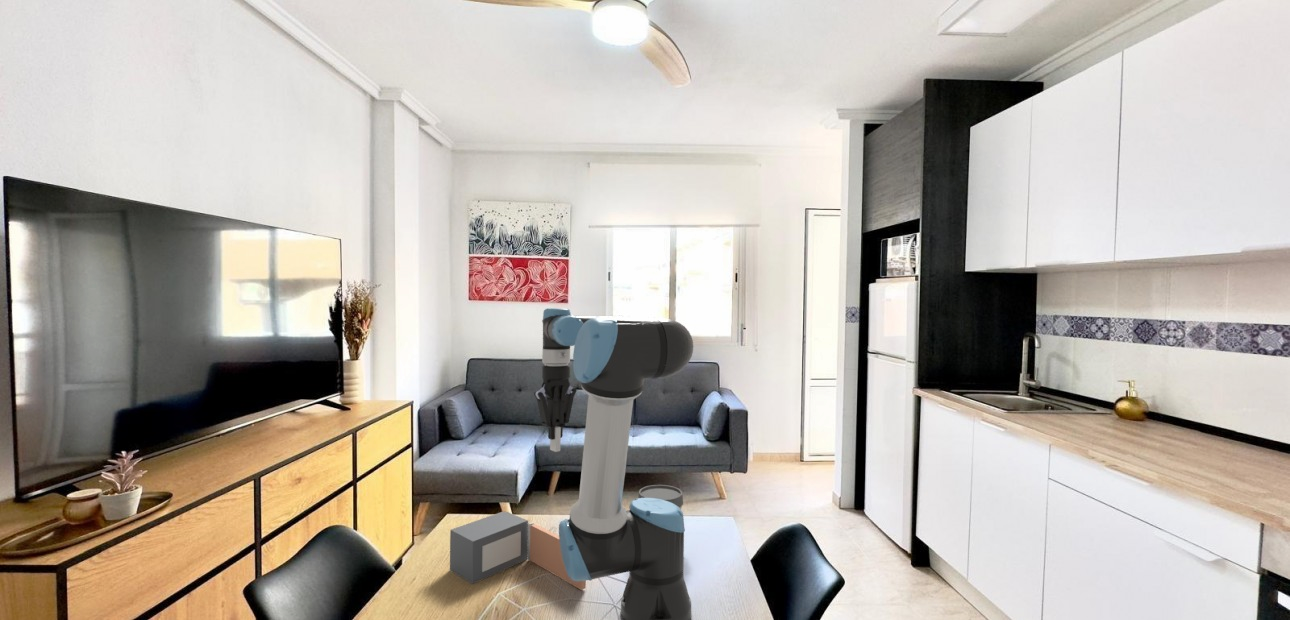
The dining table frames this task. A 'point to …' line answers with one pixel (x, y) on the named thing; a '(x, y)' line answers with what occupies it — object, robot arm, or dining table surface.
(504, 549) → the case
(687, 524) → the dining table surface
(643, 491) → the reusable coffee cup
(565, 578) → the side door
